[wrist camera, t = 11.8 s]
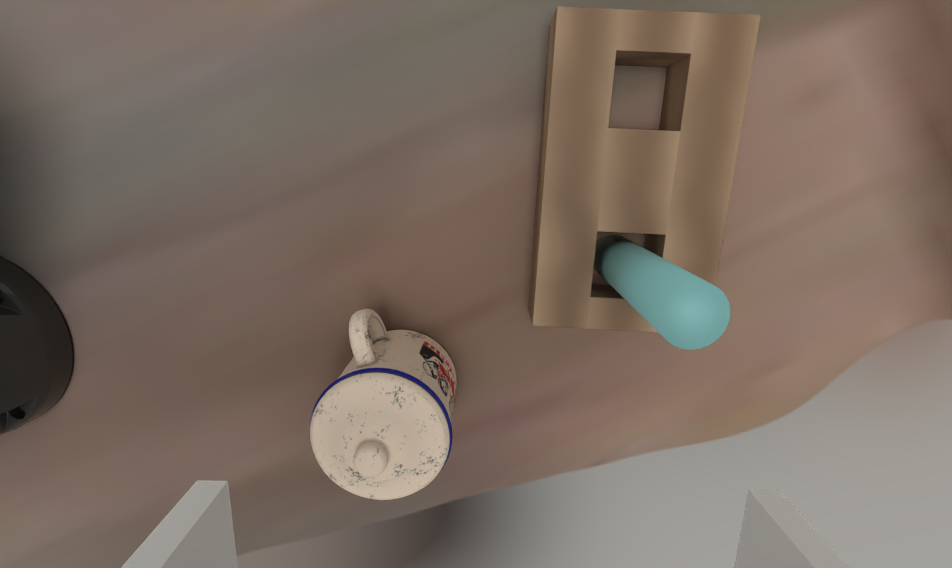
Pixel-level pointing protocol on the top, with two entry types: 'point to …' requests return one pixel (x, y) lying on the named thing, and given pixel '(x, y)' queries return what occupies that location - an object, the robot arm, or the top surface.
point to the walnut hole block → (634, 153)
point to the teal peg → (663, 293)
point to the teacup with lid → (386, 412)
